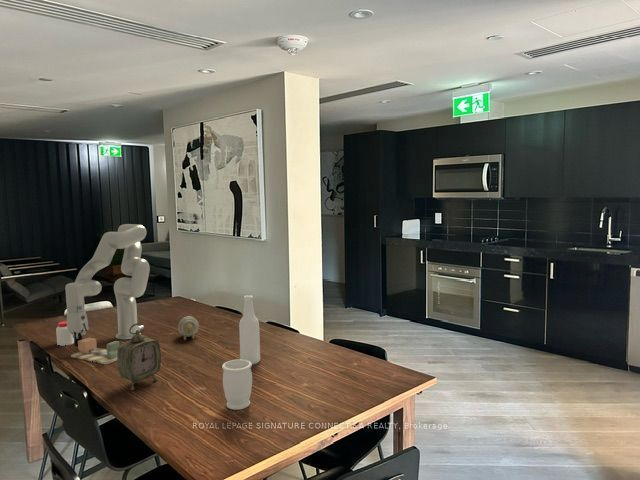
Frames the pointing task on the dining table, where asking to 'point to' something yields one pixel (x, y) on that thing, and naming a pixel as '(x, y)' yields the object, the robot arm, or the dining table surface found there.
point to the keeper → (87, 345)
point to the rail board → (100, 354)
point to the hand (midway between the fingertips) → (78, 345)
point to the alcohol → (249, 333)
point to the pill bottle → (63, 334)
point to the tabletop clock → (138, 358)
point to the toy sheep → (188, 326)
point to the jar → (237, 383)
